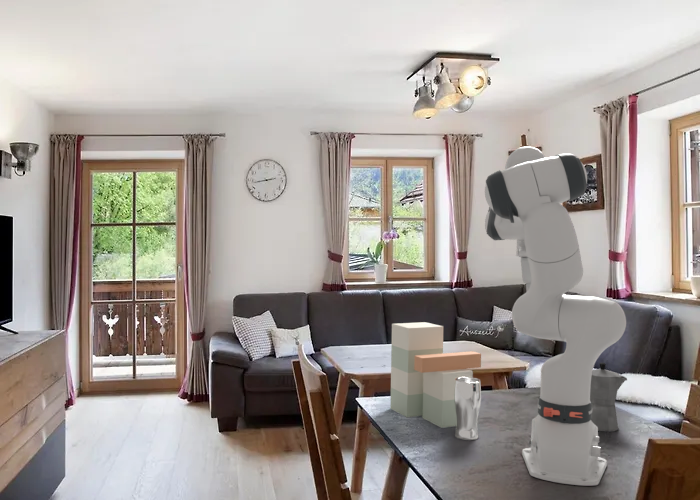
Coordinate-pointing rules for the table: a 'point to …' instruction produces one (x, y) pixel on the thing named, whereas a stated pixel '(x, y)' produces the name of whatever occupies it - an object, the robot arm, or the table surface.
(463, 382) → the beer glass
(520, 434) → the table surface
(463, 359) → the long brick
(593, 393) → the coffeepot
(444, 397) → the short tower
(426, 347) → the tall tower
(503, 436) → the table surface
